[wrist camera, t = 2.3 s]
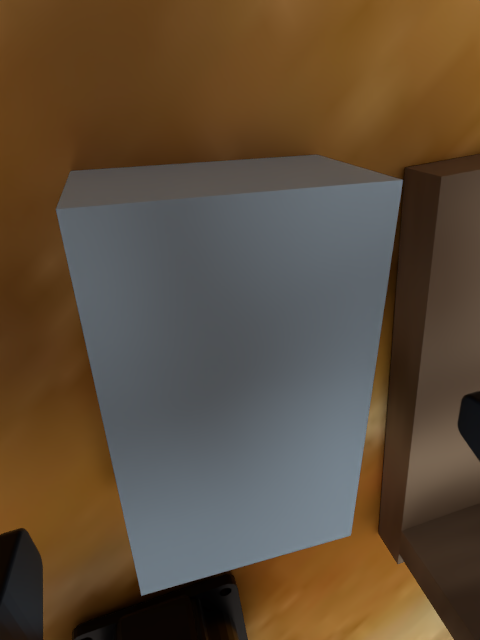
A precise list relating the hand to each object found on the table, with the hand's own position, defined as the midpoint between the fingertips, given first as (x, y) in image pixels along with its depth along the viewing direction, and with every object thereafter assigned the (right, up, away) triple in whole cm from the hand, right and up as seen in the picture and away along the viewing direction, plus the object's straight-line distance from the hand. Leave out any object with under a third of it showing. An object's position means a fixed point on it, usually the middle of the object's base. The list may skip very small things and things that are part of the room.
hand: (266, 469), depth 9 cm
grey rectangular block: (-1, +3, +4) cm, 5 cm away
